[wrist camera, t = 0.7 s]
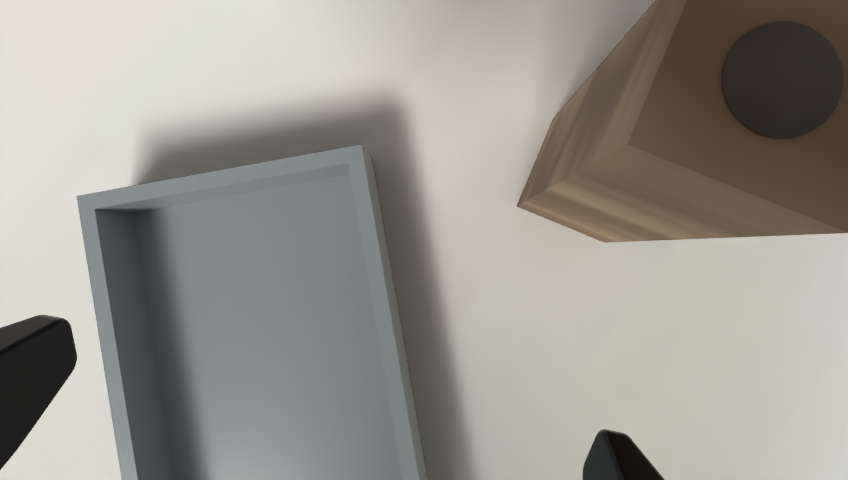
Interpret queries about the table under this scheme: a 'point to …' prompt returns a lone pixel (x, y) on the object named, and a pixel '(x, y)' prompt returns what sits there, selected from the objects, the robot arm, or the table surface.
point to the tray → (253, 324)
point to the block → (706, 127)
